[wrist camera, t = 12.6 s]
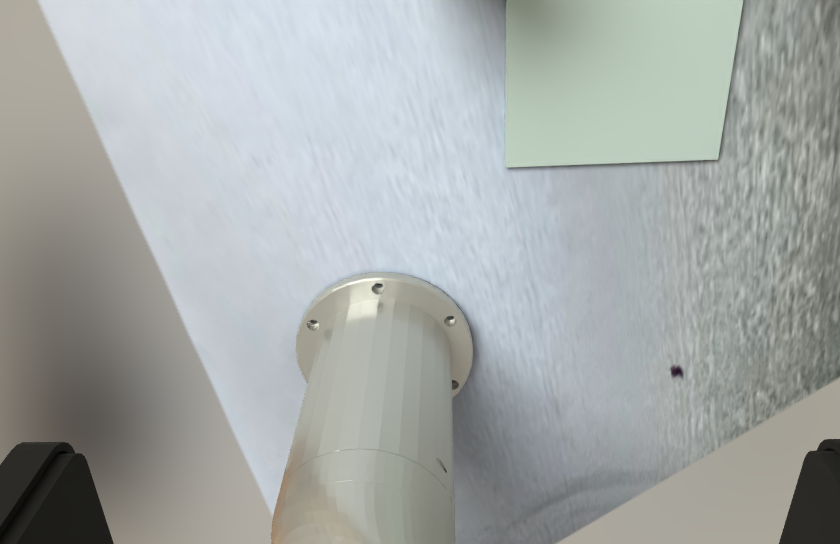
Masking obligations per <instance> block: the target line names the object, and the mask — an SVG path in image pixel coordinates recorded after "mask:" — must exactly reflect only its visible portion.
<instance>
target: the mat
mask: <svg viewBox="0 0 840 544" xmlns="http://www.w3.org/2000/svg"><path fill="white" fill-rule="evenodd" d="M742 5H743V0H506V69H505V167H531V166H558V165H584V164H611V163H637V162H664V161H690V160H717V159H718V156H719V150H720V143H721V137H722V131H723V124H724V118H725V112H726V106H727V99H728V93H729V87H730V81H731V74H732V68H733V62H734V55H735V49H736V43H737V37H738V30H739V24H740V18H741V12H742Z"/></svg>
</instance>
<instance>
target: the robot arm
mask: <svg viewBox="0 0 840 544" xmlns="http://www.w3.org/2000/svg"><path fill="white" fill-rule="evenodd" d="M376 283H380V284H381V285H378V284H376ZM449 316H451V317H449ZM315 320H316V321H315ZM296 354H297V361H298V365H299V368H300V370H301V373H302V375H303V377H304V379H305V380H306V382H307V383H308V384H307V388H306V392H305V396H304V400H303V403H302V407H301V411H300V415H299V419H298V422H297V426H296V430H295V434H294V438H293V442H292V445H291V449H290V453H289V457H288V461H287V464H286V468H285V472H284V476H283V480H282V484H281V488H280V492H279V495H278V499H277V503H276V507H275V511H274V515H273V521H272V532H271V539H272V544H455V502H454V456H453V409H452V399H453V398H454V397H455V396H456V395H457V394H458V393H459V392H460V391H461V389H462V387H463V386H464V384H465V382H466V381H467V379H468V376H469V373H470V370H471V367H472V360H473V342H472V336H471V332H470V328H469V325H468V323H467V321H466V319H465V317H464V315H463V313H462V311H461V310H460V309H459V308H458V306H457V305H456V304H455V303H454V301H453V300H452V299H451V298H449V297H448V296H447V295H446V294H445V293H443V292H442V291H441V290H440V289H438V288H436V287H434V286H433V285H431V284H429V283H427V282H426V281H423V280H420V279H417V278H415V277H412V276H409V275H403V274H398V273H392V272H372V273H366V274H359V275H355V276H352V277H349V278H346V279H344V280H341V281H339V282H337V283H335V284H334V285H332V286H330V287H328V288H327V289H326V290H324V291H323V292H322V293H321V294H320V295H319V296H317V297H316V298H315V299H314V301H313V302H312V303H311V305H310V306H309V307H308V309H307V310H306V312H305V314H304V316H303V319H302V321H301V323H300V327H299V331H298V334H297V340H296ZM0 544H113V540H112V537H111V534H110V531H109V528H108V525H107V522H106V519H105V516H104V513H103V510H102V506H101V503H100V500H99V498H98V495H97V491H96V488H95V485H94V482H93V479H92V476H91V473H90V469H89V466H88V464H87V461H86V459H85V456H83V455H82V454H79V453H75V452H74V450H73V448H72V446H70V445H69V444H68V443H65V442H22V443H21V444H18V445H16V446H15V447H14V448H13V449H12V450H11V452H10V453H9V454H8V455H7V457H6V458H5V460H4V461H3V462H2V463H1V465H0ZM779 544H840V439H827V440H824V441H823V442H821V443H820V445H819V447H818V449H817V451H810V452H808V454H807V455H806V457H805V459H804V462H803V465H802V469H801V472H800V475H799V479H798V482H797V485H796V489H795V492H794V495H793V499H792V502H791V505H790V509H789V512H788V515H787V519H786V522H785V525H784V529H783V532H782V535H781V539H780V542H779Z"/></svg>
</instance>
